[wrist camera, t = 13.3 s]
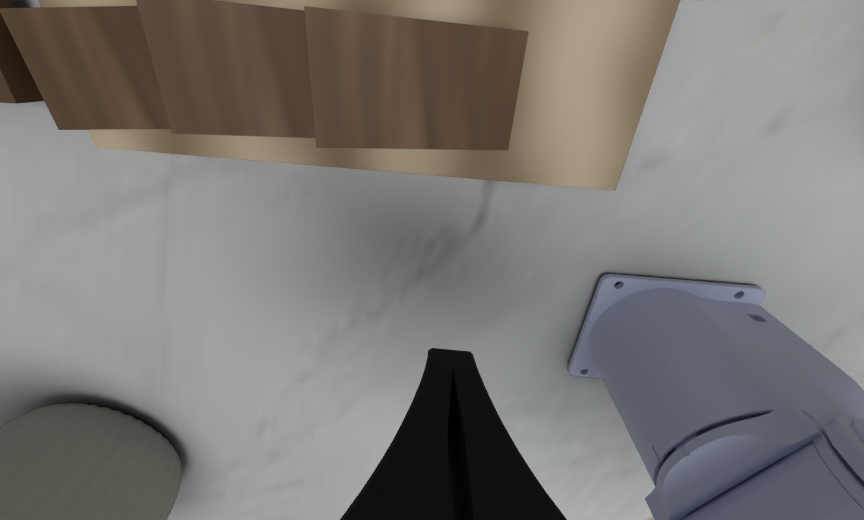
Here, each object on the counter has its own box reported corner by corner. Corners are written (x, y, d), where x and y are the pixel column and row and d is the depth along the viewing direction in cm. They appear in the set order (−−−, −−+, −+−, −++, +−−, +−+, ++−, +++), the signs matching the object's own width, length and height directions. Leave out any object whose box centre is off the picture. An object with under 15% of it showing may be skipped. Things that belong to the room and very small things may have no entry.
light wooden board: (674, -6, 14) (682, -8, 14) (610, 186, 18) (615, 190, 18) (29, -61, 14) (13, -66, 14) (104, 144, 18) (94, 147, 18)
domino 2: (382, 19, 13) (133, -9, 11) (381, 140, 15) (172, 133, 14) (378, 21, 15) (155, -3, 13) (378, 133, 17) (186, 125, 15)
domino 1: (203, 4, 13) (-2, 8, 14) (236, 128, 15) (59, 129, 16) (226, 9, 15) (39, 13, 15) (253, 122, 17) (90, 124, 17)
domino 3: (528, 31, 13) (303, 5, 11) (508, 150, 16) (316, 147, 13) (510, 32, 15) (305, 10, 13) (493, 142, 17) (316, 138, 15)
